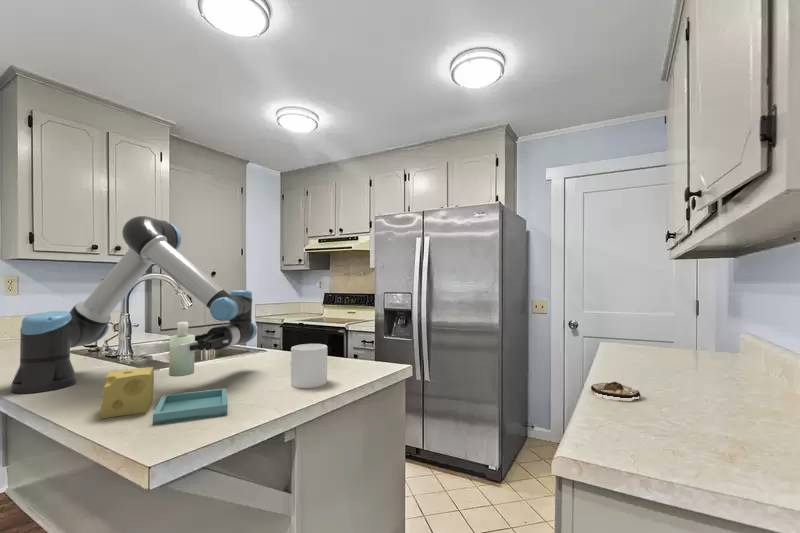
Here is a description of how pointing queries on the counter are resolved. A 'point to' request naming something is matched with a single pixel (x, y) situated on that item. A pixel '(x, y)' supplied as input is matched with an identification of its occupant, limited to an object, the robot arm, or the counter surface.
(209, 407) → the teal rectangular tray
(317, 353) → the cup
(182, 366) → the bottle
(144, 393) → the cheese
